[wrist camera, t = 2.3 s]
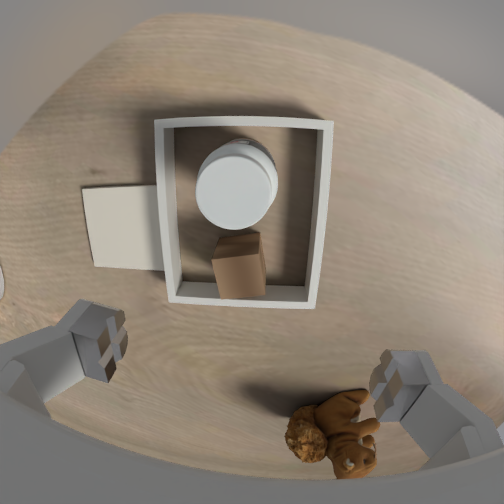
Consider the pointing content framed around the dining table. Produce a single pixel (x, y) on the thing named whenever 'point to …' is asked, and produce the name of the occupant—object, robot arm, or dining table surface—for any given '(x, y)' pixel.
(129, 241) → the coaster
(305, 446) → the stuffed squirrel
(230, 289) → the walnut block
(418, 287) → the dining table surface
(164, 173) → the tray frame
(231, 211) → the pill bottle
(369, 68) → the dining table surface
